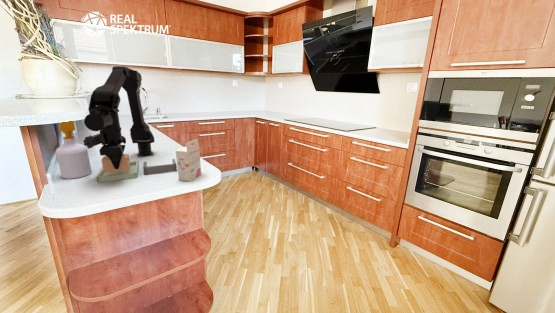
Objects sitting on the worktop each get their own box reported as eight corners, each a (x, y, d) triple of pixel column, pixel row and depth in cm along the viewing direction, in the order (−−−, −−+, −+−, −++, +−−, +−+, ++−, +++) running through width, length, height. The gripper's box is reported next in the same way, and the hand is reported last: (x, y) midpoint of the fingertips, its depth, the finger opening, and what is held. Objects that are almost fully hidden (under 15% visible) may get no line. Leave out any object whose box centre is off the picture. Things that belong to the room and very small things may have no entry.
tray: (104, 168, 101) (103, 164, 101) (139, 165, 107) (138, 160, 106) (97, 182, 87) (96, 177, 87) (137, 177, 93) (136, 172, 92)
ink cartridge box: (190, 172, 99) (187, 137, 95) (201, 174, 98) (199, 138, 94) (177, 180, 91) (174, 142, 87) (190, 181, 90) (186, 143, 86)
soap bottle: (89, 169, 100) (77, 108, 93) (93, 175, 94) (80, 110, 87) (60, 174, 94) (45, 109, 87) (63, 181, 88) (46, 112, 81)
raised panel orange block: (131, 161, 102) (130, 148, 101) (129, 170, 92) (127, 156, 91) (109, 163, 99) (106, 150, 97) (103, 172, 89) (101, 158, 87)
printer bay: (144, 168, 102) (143, 161, 102) (175, 165, 108) (174, 158, 107) (144, 175, 96) (143, 167, 95) (177, 171, 101) (176, 164, 100)
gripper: (88, 123, 93) (96, 162, 97) (75, 132, 77) (85, 178, 81) (123, 121, 97) (128, 159, 102) (117, 130, 82) (124, 173, 86)
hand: (117, 166), depth 93 cm, fingers closed on raised panel orange block, 5 cm apart
